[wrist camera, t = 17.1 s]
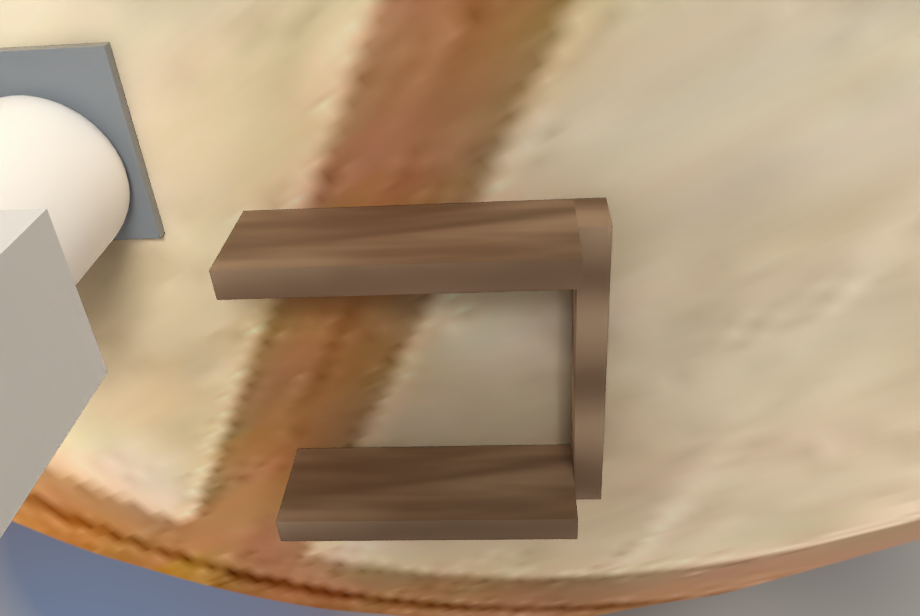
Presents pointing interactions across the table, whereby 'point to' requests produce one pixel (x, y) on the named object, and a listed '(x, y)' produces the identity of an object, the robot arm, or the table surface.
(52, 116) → the mug
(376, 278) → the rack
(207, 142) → the table surface
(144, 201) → the coaster
